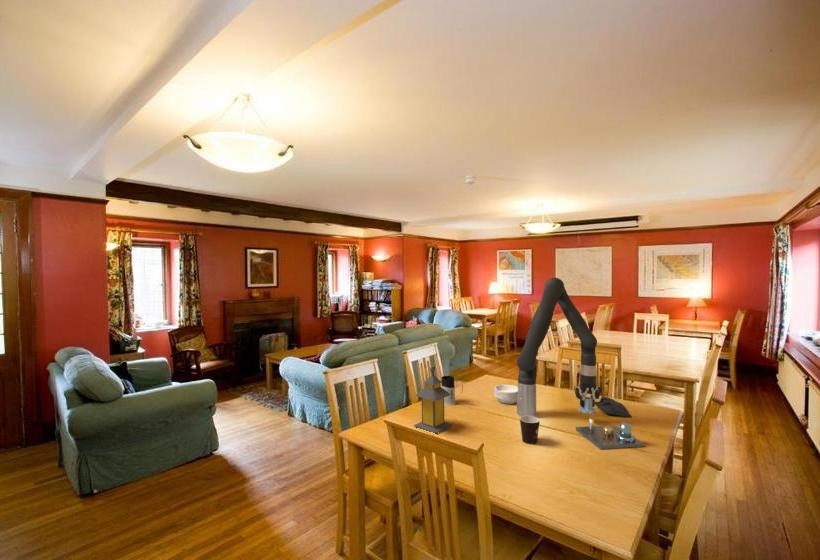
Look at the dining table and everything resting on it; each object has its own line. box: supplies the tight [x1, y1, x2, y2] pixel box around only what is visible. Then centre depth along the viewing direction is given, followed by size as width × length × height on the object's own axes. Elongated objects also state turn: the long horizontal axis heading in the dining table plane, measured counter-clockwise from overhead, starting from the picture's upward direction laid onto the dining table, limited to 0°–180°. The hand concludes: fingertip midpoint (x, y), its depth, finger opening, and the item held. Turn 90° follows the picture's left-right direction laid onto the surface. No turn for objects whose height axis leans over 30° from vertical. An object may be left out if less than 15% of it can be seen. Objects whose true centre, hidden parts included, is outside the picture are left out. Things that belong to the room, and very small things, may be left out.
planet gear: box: [578, 396, 597, 415], centre depth 193 cm, size 8×8×7 cm
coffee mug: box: [519, 416, 541, 445], centre depth 174 cm, size 12×9×10 cm
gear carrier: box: [575, 418, 645, 450], centre depth 175 cm, size 20×20×8 cm
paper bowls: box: [493, 384, 518, 405], centre depth 226 cm, size 15×15×8 cm
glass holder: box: [440, 375, 464, 406], centre depth 223 cm, size 9×14×15 cm, turn 54°
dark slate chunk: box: [595, 395, 632, 418], centre depth 211 cm, size 15×22×5 cm
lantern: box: [414, 366, 453, 435], centre depth 191 cm, size 14×14×30 cm
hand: (587, 406), depth 193 cm, fingers closed on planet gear, 4 cm apart
